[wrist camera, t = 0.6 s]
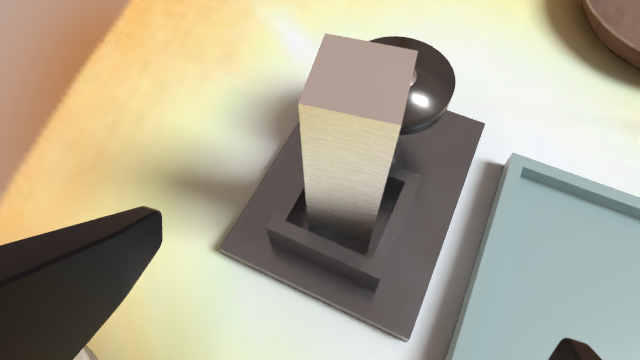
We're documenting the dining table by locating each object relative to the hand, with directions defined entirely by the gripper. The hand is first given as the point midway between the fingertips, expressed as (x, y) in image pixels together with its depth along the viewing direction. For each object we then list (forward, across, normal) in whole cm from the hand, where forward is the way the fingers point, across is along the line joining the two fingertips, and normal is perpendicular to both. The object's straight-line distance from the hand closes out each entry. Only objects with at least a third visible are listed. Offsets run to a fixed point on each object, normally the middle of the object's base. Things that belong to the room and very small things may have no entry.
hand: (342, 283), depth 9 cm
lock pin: (+15, +2, +8) cm, 17 cm away
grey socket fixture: (+18, +1, +7) cm, 19 cm away
